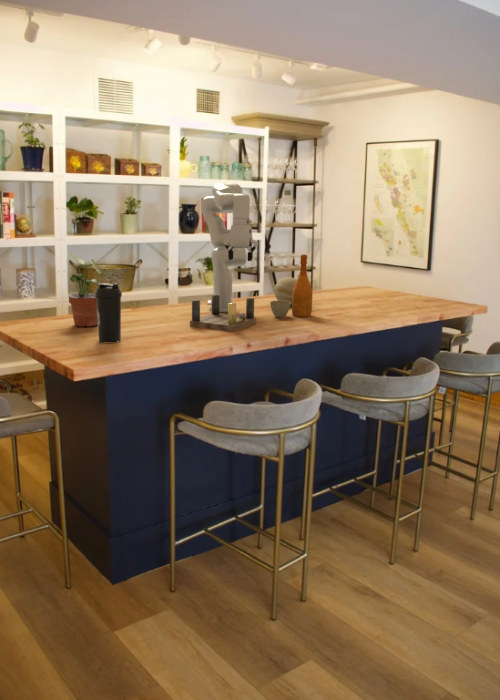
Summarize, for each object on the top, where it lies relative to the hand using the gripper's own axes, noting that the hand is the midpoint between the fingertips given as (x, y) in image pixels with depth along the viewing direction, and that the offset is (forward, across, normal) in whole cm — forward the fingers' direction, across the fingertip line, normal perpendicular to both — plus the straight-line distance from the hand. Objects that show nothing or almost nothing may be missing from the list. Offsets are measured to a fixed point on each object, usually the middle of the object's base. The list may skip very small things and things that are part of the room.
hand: (240, 260), depth 299 cm
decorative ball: (+28, -2, -53) cm, 60 cm away
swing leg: (+25, -7, +16) cm, 31 cm away
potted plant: (+28, +52, +45) cm, 74 cm away
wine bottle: (+28, -20, -28) cm, 45 cm away
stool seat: (+28, +2, +12) cm, 31 cm away
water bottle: (+28, +25, +64) cm, 74 cm away
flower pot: (+28, -12, -20) cm, 37 cm away
